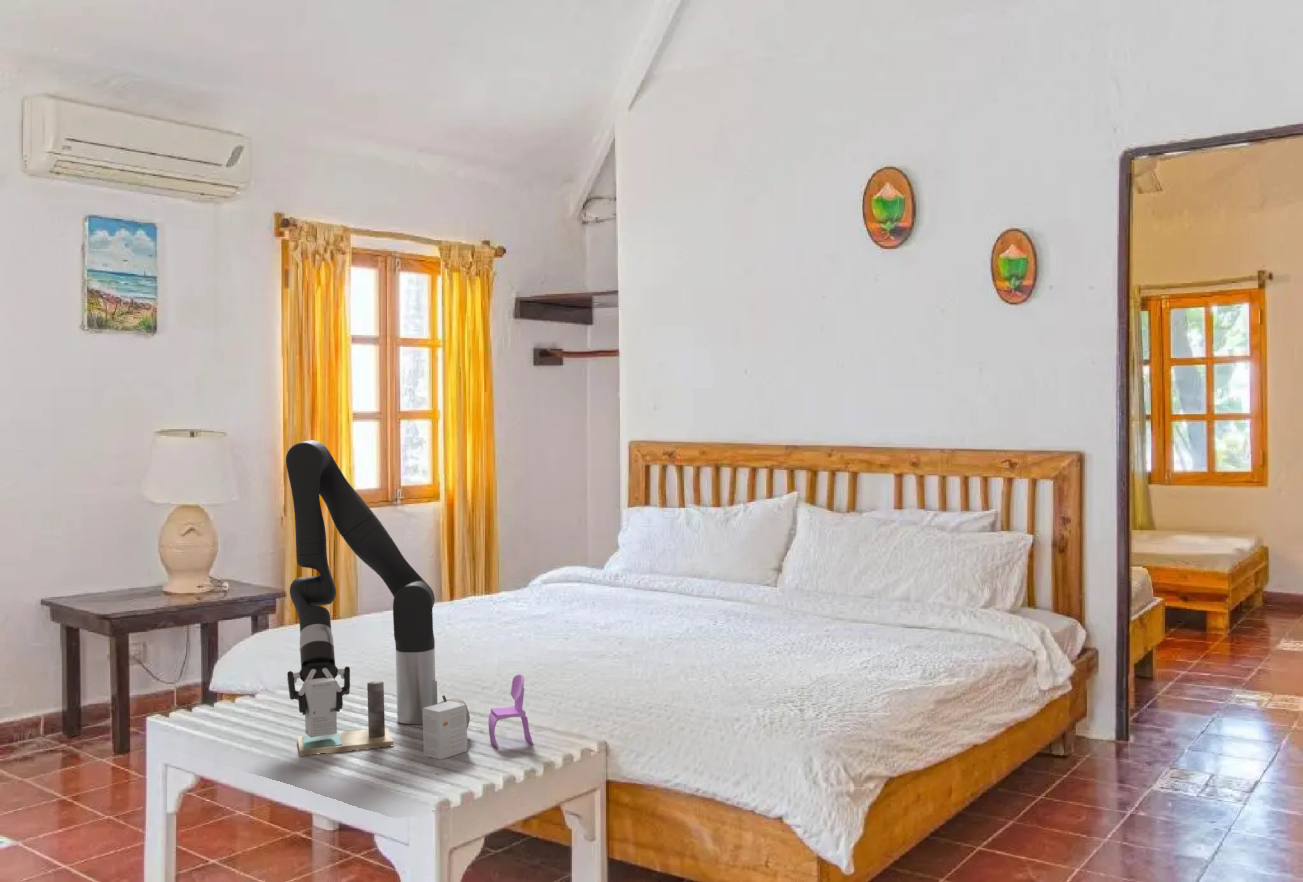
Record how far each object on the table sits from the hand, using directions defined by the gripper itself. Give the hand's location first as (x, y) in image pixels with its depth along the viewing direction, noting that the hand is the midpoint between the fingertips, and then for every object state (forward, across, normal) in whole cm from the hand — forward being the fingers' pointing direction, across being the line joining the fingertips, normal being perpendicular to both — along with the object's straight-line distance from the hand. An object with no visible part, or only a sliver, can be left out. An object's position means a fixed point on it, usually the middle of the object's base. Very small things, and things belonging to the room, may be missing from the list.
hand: (321, 711), depth 269 cm
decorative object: (+8, +28, +4) cm, 29 cm away
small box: (+16, +25, -4) cm, 30 cm away
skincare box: (+3, 0, +5) cm, 6 cm away
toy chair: (+14, +40, -2) cm, 42 cm away
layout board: (+5, +5, +7) cm, 10 cm away
